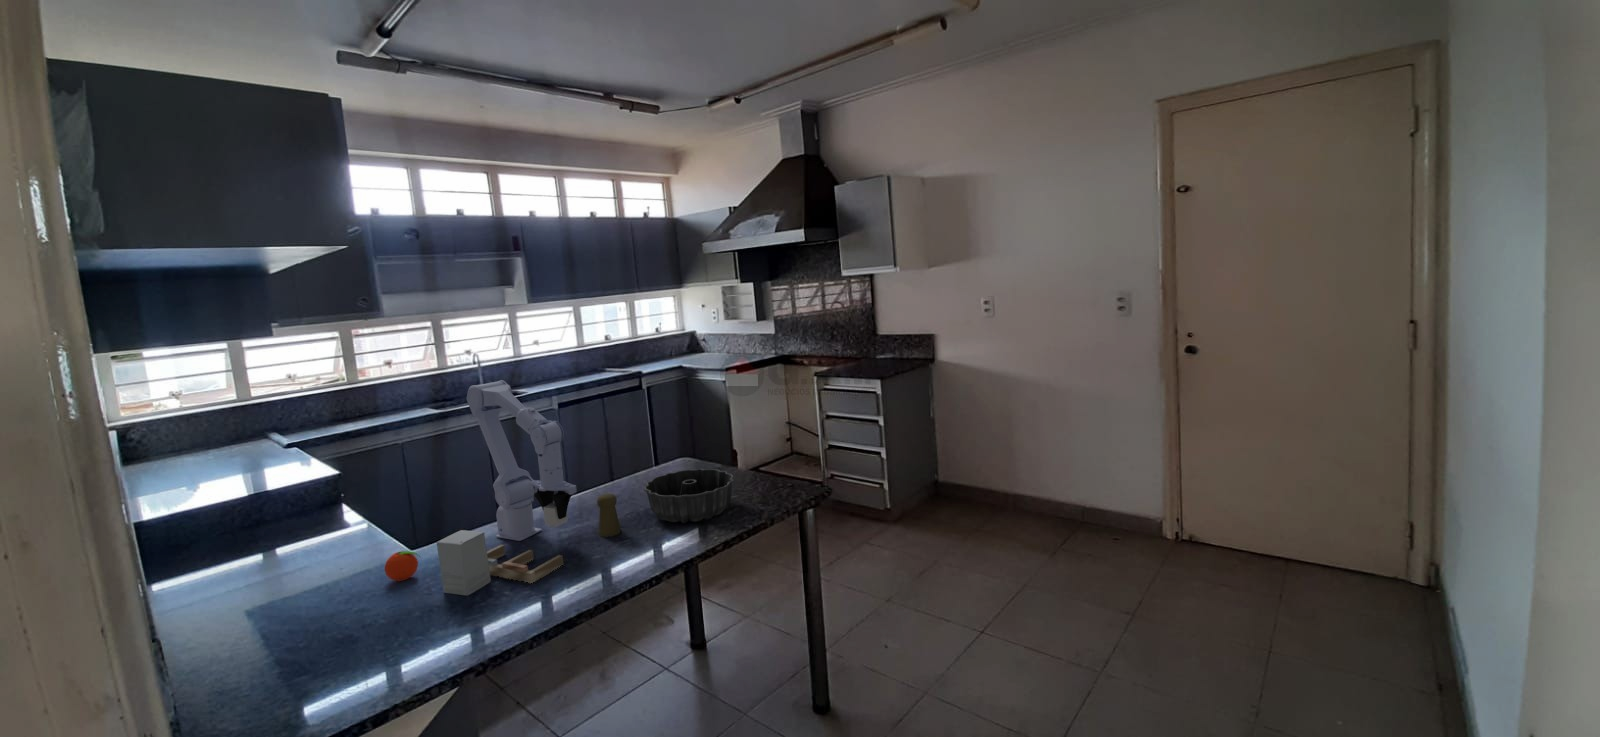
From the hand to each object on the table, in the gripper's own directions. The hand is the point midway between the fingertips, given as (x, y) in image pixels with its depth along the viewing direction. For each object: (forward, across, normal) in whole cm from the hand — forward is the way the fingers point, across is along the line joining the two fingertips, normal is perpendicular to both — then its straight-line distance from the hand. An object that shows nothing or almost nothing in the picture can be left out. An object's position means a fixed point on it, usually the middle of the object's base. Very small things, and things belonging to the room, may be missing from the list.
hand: (555, 516), depth 173 cm
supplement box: (+8, -3, -26) cm, 27 cm away
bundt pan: (+8, +22, +31) cm, 39 cm away
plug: (+2, 0, 0) cm, 2 cm away
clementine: (+8, -22, -28) cm, 36 cm away
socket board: (+8, 0, -14) cm, 16 cm away
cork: (+8, +8, +11) cm, 16 cm away
